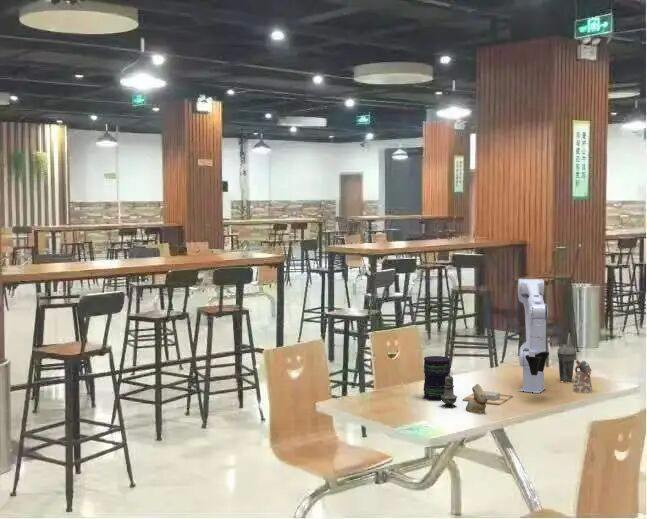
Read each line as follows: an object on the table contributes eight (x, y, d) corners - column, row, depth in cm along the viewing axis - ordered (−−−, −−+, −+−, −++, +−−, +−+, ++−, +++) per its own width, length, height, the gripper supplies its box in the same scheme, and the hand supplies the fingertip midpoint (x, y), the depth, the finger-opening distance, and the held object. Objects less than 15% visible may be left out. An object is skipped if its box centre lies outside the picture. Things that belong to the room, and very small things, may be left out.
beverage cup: (553, 380, 339) (553, 332, 337) (568, 379, 341) (569, 331, 339) (563, 384, 332) (564, 334, 330) (578, 383, 334) (579, 334, 333)
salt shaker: (444, 408, 292) (444, 375, 291) (438, 405, 297) (438, 372, 296) (460, 407, 293) (460, 374, 292) (453, 404, 299) (453, 371, 298)
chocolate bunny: (474, 414, 283) (474, 386, 283) (464, 409, 291) (464, 381, 290) (488, 413, 285) (489, 385, 284) (478, 408, 292) (478, 380, 292)
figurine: (588, 394, 314) (589, 363, 313) (570, 391, 318) (570, 360, 318) (594, 390, 320) (595, 360, 319) (576, 388, 324) (577, 358, 323)
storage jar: (449, 401, 302) (449, 361, 302) (422, 400, 304) (422, 360, 304) (450, 395, 312) (451, 356, 311) (424, 394, 314) (424, 355, 313)
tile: (479, 390, 310) (473, 393, 305) (500, 392, 306) (494, 396, 301) (479, 395, 310) (473, 398, 305) (500, 397, 306) (494, 400, 301)
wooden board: (477, 392, 316) (477, 391, 316) (512, 397, 309) (512, 395, 309) (462, 400, 304) (462, 399, 304) (499, 405, 296) (499, 403, 296)
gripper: (532, 333, 312) (532, 368, 313) (520, 338, 299) (520, 375, 300) (551, 334, 308) (550, 370, 309) (540, 340, 296) (539, 377, 297)
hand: (537, 373), depth 304 cm, fingers open, 7 cm apart
